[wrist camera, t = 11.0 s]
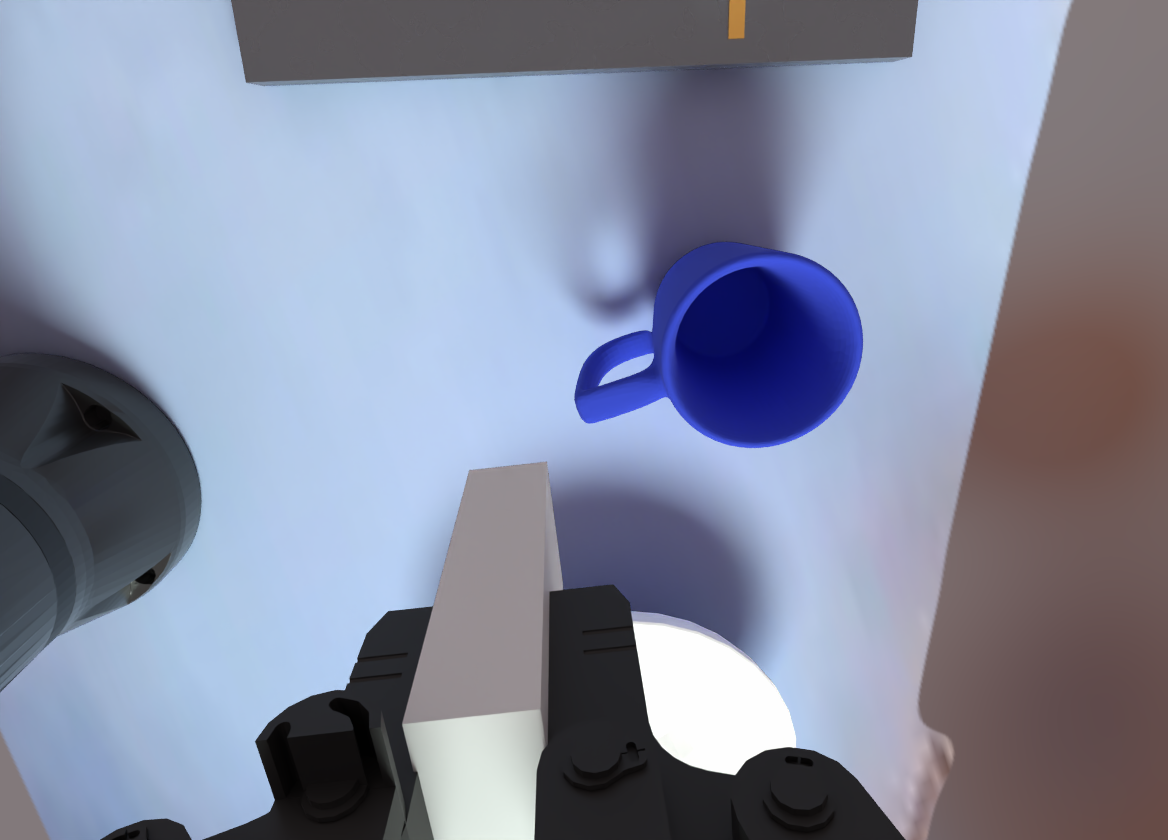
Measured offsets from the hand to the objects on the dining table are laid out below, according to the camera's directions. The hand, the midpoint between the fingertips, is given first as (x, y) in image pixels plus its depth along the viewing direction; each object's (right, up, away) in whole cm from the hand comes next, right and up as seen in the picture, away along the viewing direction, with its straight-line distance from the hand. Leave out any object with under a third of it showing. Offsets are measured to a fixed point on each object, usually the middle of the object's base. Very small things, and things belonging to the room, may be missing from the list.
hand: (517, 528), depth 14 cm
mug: (+7, +8, +25) cm, 27 cm away
